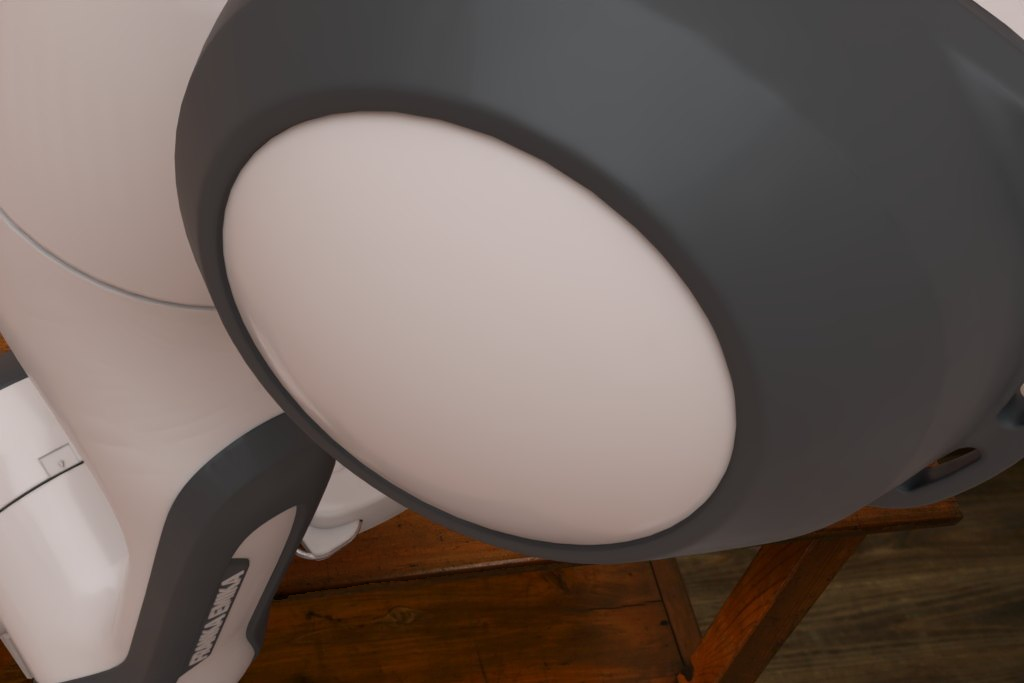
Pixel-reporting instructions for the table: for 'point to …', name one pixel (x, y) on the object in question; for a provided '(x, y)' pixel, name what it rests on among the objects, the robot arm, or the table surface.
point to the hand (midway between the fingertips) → (394, 331)
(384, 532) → the table surface
